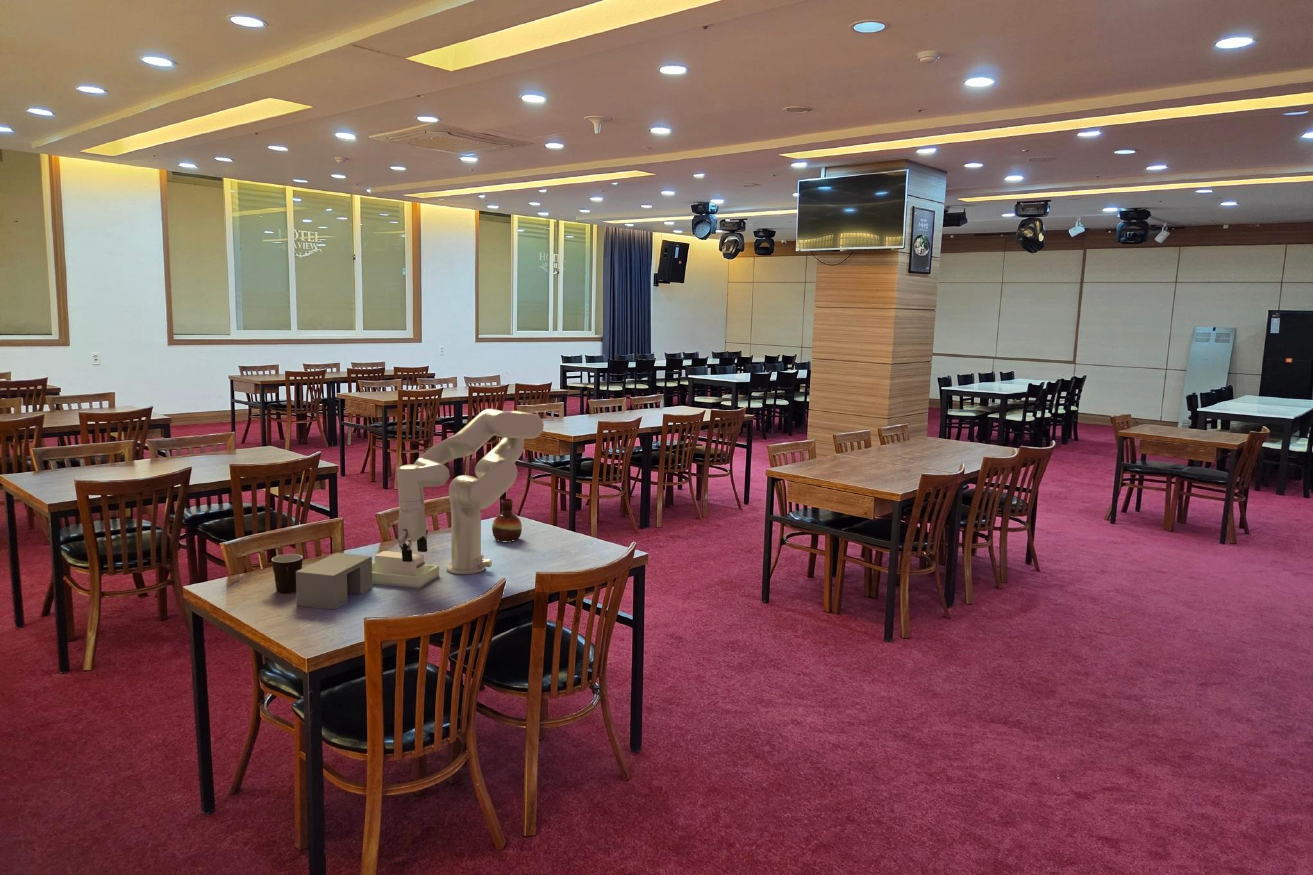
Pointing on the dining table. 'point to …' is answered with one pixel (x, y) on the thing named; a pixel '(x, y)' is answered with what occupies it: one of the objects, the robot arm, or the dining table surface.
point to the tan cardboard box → (399, 564)
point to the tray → (406, 577)
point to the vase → (506, 523)
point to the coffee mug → (286, 572)
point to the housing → (333, 580)
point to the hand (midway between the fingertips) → (415, 556)
